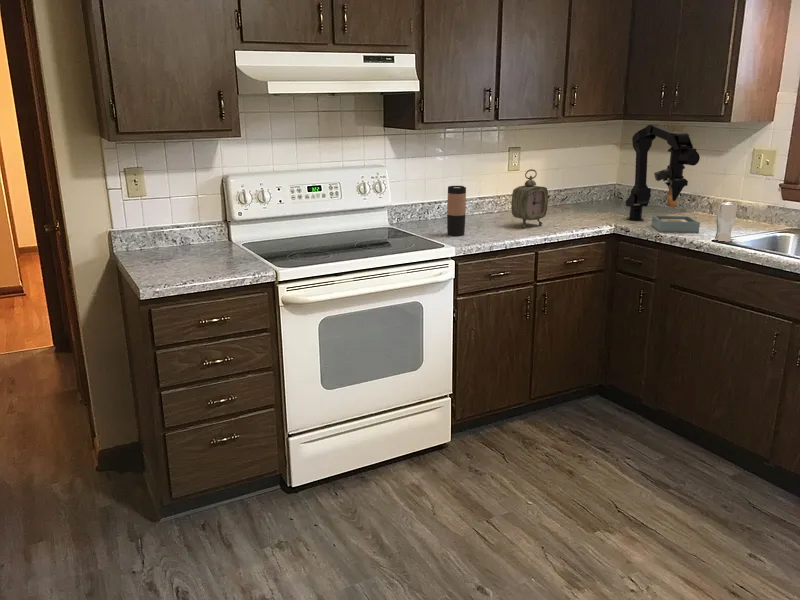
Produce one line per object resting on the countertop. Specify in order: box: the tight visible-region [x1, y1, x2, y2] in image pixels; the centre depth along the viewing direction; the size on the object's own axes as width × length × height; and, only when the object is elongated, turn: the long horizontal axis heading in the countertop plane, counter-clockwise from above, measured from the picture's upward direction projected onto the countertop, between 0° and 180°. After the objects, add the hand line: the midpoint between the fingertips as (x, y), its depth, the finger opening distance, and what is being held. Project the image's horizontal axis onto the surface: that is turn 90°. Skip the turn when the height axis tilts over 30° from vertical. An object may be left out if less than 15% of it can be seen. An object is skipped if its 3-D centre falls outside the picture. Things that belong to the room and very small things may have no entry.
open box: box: [651, 215, 701, 233], centre depth 297 cm, size 15×16×4 cm
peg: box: [666, 186, 679, 208], centre depth 293 cm, size 4×4×9 cm
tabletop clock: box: [511, 168, 549, 229], centre depth 302 cm, size 14×9×25 cm, turn 126°
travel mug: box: [446, 185, 467, 237], centre depth 284 cm, size 8×8×20 cm
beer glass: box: [714, 201, 738, 243], centre depth 272 cm, size 7×7×15 cm
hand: (672, 200), depth 294 cm, fingers closed on peg, 4 cm apart
